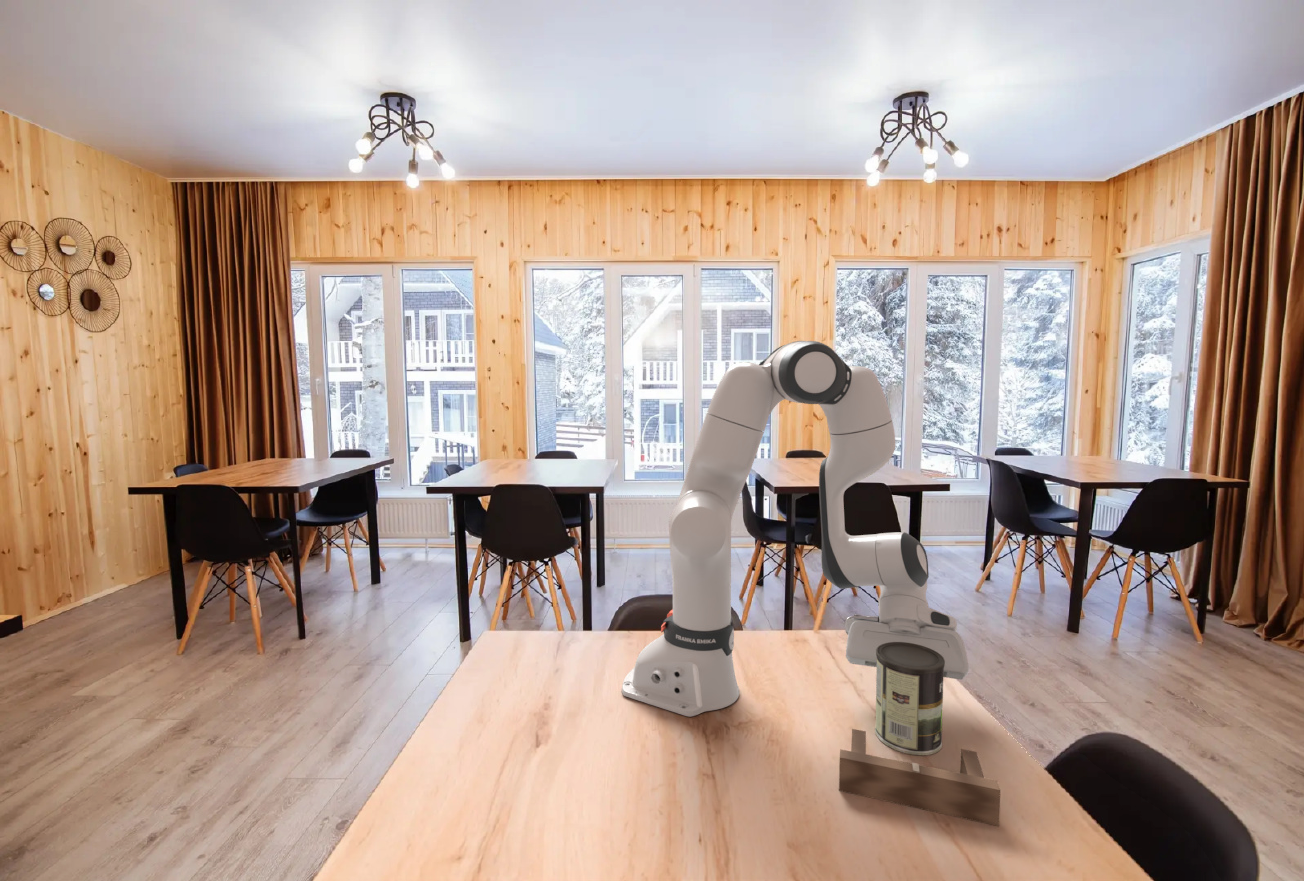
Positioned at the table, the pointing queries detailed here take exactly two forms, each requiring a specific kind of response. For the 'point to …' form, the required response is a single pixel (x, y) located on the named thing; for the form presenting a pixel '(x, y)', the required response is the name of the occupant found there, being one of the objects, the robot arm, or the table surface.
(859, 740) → the walnut rail
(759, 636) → the table surface
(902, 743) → the coffee can
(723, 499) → the robot arm
